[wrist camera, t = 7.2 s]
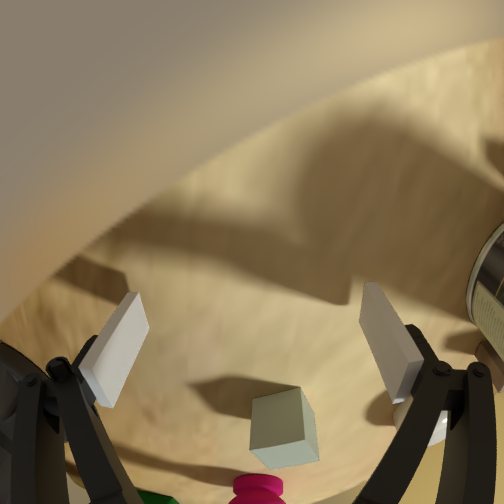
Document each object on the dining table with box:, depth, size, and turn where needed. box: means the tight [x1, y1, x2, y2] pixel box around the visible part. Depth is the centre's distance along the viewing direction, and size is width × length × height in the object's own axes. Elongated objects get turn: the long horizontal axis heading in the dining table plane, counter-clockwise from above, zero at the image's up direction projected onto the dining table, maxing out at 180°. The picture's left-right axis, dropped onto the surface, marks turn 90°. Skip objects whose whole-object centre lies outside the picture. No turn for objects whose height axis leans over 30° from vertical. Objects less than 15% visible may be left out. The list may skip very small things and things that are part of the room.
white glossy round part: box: [393, 395, 447, 447], centre depth 21 cm, size 7×7×4 cm
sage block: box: [249, 387, 320, 470], centre depth 20 cm, size 4×4×5 cm
